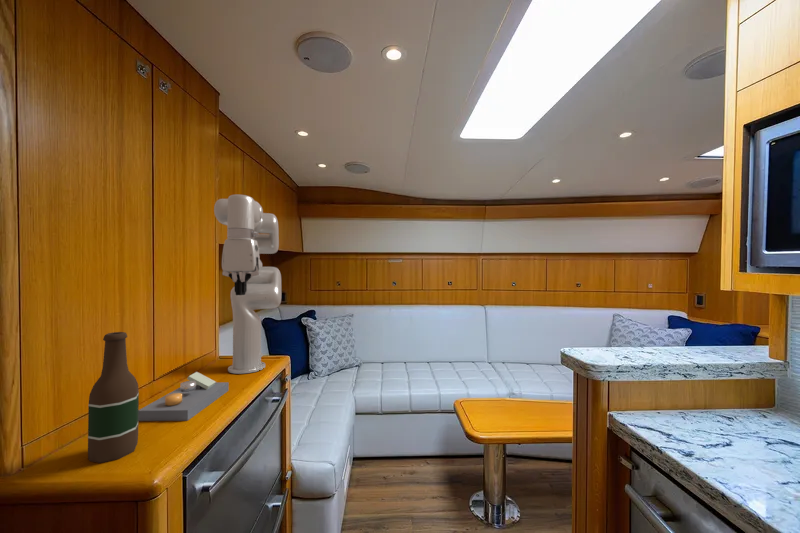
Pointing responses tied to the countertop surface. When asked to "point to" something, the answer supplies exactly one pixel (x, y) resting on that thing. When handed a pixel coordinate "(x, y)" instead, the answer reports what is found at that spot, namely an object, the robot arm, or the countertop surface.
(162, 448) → the countertop surface
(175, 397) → the button orange
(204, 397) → the panel
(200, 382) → the block
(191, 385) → the button metal
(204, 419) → the countertop surface
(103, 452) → the beer bottle
